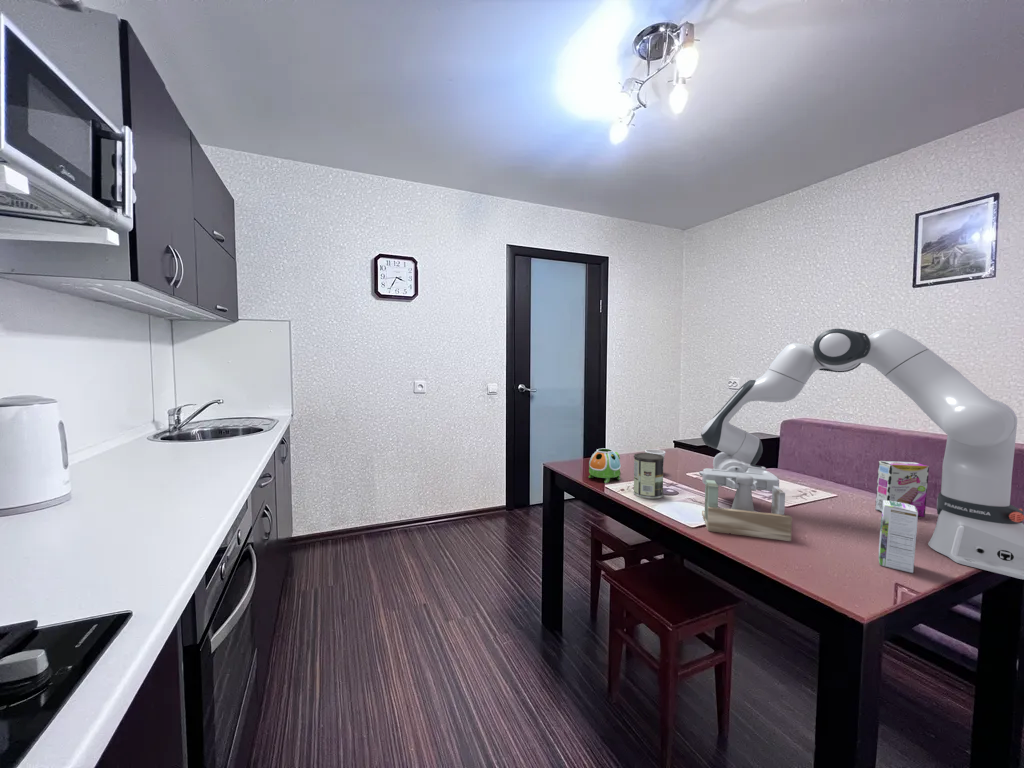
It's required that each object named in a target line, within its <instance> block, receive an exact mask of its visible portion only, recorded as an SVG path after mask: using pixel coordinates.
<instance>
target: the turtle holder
mask: <svg viewBox="0 0 1024 768" xmlns="http://www.w3.org/2000/svg"><path fill="white" fill-rule="evenodd" d="M620 459H621V456H620V453H618V451H614V449H611V448H607V447H606V448H604V447H602V448H598V449H597V448H596V451H594V453H592V455H591V457H590V459H589V462H588V468H589V469H588V473H589V475H588V478H589V479H594V477H595V478H601V479H604V480H603V481H604V483H605V484H607V483H610V479H613V478H616V480H618V481H620V480H621V476H620V475H621V467H622V465H621V460H620Z"/></svg>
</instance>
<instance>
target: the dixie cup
mask: <svg viewBox="0 0 1024 768" xmlns="http://www.w3.org/2000/svg"><path fill="white" fill-rule="evenodd" d="M644 453H653V454H658V455H662V456H663V457H664V458H665V455H666V451H665V450H662V449H658V448H656V449H655V448H649V449H647V448H646V449H645V450H644ZM664 462H665V460H664V461H663V464H664Z"/></svg>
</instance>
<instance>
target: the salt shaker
mask: <svg viewBox="0 0 1024 768" xmlns="http://www.w3.org/2000/svg"><path fill="white" fill-rule="evenodd" d="M736 482H737V483H739V489H735V490H736V491H735V494H734V498H733V501H732V504H731V508H730V509H735V510H744V511H754V512H755V507H754V502H753V492H752V491H751V485H752V484H753V477H752V476H750V475H747V474H738V475H737V477H736Z"/></svg>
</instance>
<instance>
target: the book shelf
mask: <svg viewBox="0 0 1024 768" xmlns="http://www.w3.org/2000/svg"><path fill="white" fill-rule="evenodd" d="M704 485H705V486H704V487H705V488H704V510H702V511H701V516H703V517H702V518H703V522H704V521H705V522H704V524H705V526H706V529H707V531H708V532H715V533H722V534H729V533H731V534H730V535H739V536H747V537H752V538H753V537H754V538H763V539H770V540H779V541H786V542H792V525H793V517H792V516H791V515H789V514H788V515H787V514H785V510H786V509H785V508H786V504H785V503H786V492H785V491H784V490H782V489H781V488H780V486H779V487H778V486H772V491H771V492H772V493H771V507H770V508H771V509H770V510H771V511H770V512H771V513H770V512H761V511H755V510H754V511H744V510H735V509H731V508H724V507H719V486H718V485H717V484H716V482H715V481H714V480H705V484H704Z"/></svg>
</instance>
